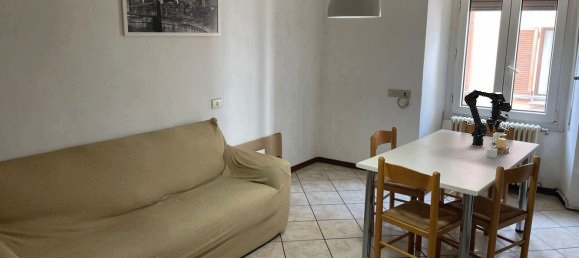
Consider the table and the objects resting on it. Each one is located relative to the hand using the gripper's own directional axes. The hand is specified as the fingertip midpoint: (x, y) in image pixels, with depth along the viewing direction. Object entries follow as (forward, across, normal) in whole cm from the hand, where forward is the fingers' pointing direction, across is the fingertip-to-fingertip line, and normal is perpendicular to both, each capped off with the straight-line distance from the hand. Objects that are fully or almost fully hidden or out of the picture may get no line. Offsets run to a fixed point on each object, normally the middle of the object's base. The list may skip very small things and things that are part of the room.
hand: (494, 131), depth 332 cm
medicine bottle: (+13, +21, +3) cm, 25 cm away
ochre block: (+9, -6, -8) cm, 14 cm away
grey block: (+13, -22, -8) cm, 27 cm away
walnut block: (+13, -6, -8) cm, 16 cm away
